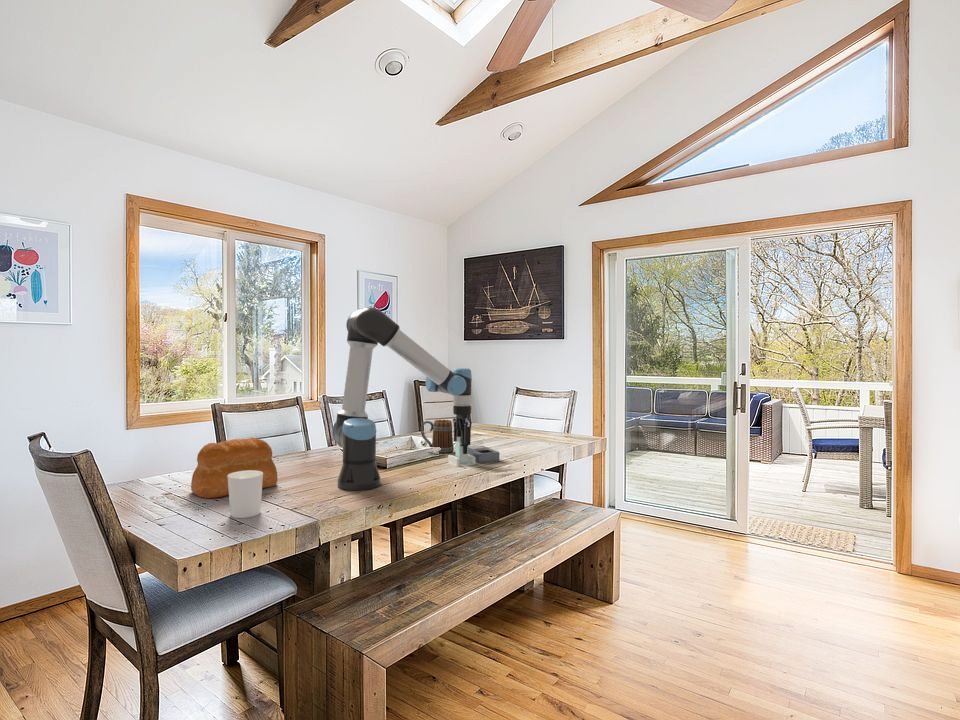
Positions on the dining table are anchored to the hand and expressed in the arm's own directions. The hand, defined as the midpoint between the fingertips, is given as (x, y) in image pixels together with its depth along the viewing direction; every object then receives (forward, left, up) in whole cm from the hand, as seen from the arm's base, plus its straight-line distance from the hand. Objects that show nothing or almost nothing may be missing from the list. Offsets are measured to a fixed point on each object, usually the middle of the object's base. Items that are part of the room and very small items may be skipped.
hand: (461, 460), depth 229 cm
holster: (0, 0, -2) cm, 2 cm away
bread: (-87, 0, -3) cm, 87 cm away
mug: (+1, +29, -3) cm, 29 cm away
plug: (0, 0, -1) cm, 1 cm away
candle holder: (-86, -31, -2) cm, 91 cm away
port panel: (+11, +4, -2) cm, 12 cm away
